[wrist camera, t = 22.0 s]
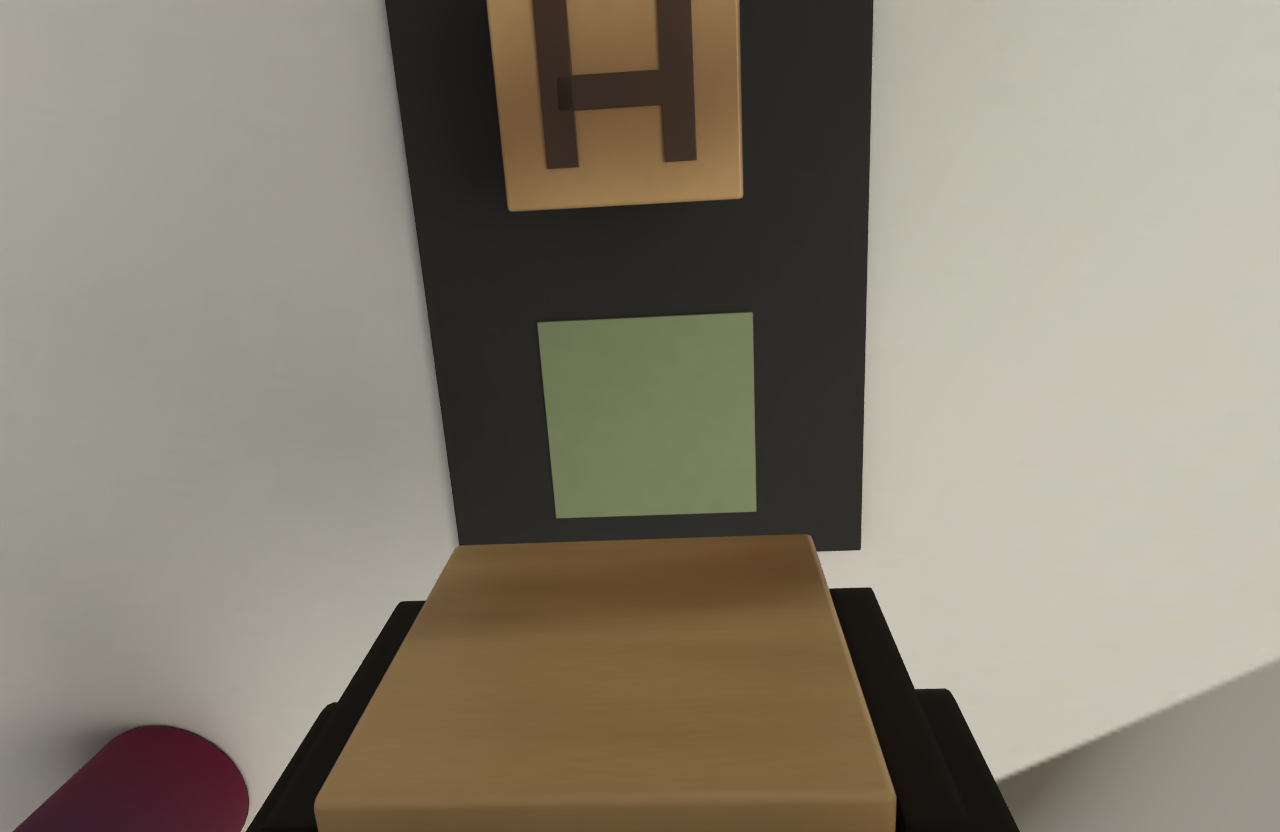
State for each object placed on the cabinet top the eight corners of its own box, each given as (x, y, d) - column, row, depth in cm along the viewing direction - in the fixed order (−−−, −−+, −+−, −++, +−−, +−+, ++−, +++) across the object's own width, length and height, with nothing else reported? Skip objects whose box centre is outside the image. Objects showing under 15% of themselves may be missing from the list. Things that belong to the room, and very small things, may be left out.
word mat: (316, -540, 17) (305, -559, 16) (883, -605, 16) (889, -628, 16) (464, 556, 24) (460, 564, 24) (858, 543, 23) (861, 552, 23)
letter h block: (525, -9, 19) (478, -52, 15) (726, -24, 19) (738, -72, 15) (544, 197, 21) (506, 212, 16) (731, 185, 20) (744, 198, 16)
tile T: (454, 543, 11) (301, 814, 6) (811, 530, 11) (902, 806, 6) (494, 826, 12) (389, 1209, 8) (811, 823, 12) (885, 1217, 8)
